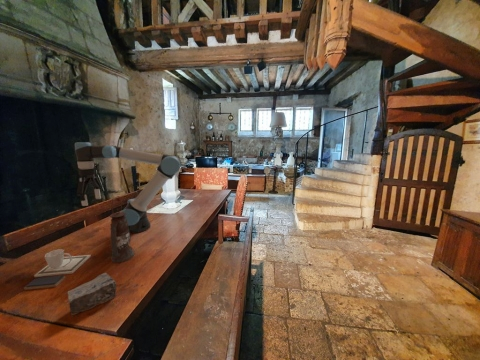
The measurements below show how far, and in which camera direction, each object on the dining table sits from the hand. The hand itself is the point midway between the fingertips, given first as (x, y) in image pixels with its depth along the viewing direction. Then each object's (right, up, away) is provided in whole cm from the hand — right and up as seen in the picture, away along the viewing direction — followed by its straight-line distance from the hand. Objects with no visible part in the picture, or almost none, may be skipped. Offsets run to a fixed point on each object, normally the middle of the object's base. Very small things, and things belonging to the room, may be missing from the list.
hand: (92, 202), depth 112 cm
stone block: (+34, -35, -39) cm, 63 cm away
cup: (+2, -31, -21) cm, 37 cm away
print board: (+2, -31, -19) cm, 36 cm away
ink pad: (+5, -33, -31) cm, 46 cm away
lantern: (+27, -30, -11) cm, 41 cm away
